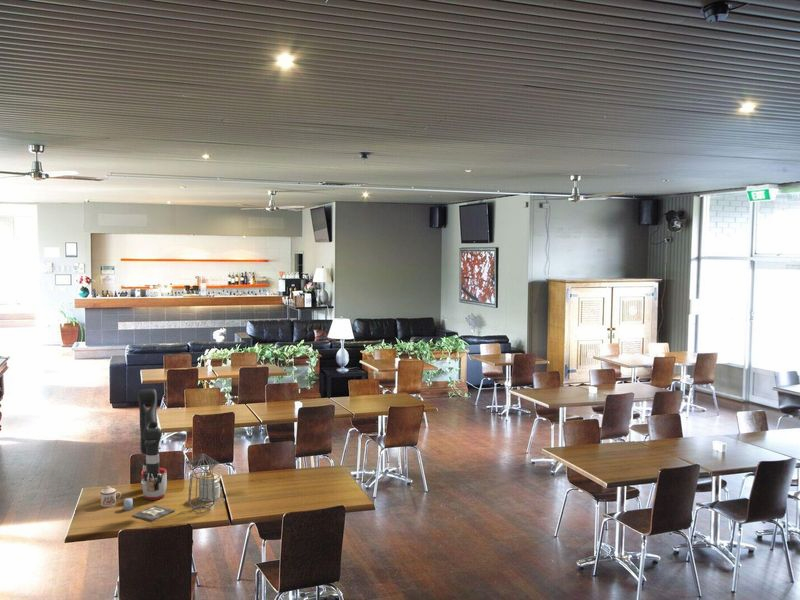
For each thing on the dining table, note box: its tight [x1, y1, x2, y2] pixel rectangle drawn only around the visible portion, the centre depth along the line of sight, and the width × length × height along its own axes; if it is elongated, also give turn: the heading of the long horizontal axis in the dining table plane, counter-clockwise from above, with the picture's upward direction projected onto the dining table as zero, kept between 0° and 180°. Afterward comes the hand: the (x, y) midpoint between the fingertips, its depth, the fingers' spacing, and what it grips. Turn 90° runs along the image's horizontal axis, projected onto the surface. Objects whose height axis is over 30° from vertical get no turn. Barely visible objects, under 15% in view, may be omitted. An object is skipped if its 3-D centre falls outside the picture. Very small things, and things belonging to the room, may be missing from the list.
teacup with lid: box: [100, 485, 122, 508], centre depth 453 cm, size 12×9×12 cm
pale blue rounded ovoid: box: [123, 497, 134, 512], centre depth 446 cm, size 5×5×6 cm
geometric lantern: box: [185, 453, 220, 514], centre depth 446 cm, size 16×16×35 cm
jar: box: [199, 470, 221, 502], centre depth 467 cm, size 13×13×18 cm
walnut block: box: [147, 479, 159, 492], centre depth 438 cm, size 5×5×6 cm
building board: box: [131, 504, 176, 522], centre depth 439 cm, size 18×16×2 cm
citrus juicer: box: [140, 467, 168, 501], centre depth 466 cm, size 16×17×20 cm
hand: (152, 489), depth 438 cm, fingers closed on walnut block, 5 cm apart
